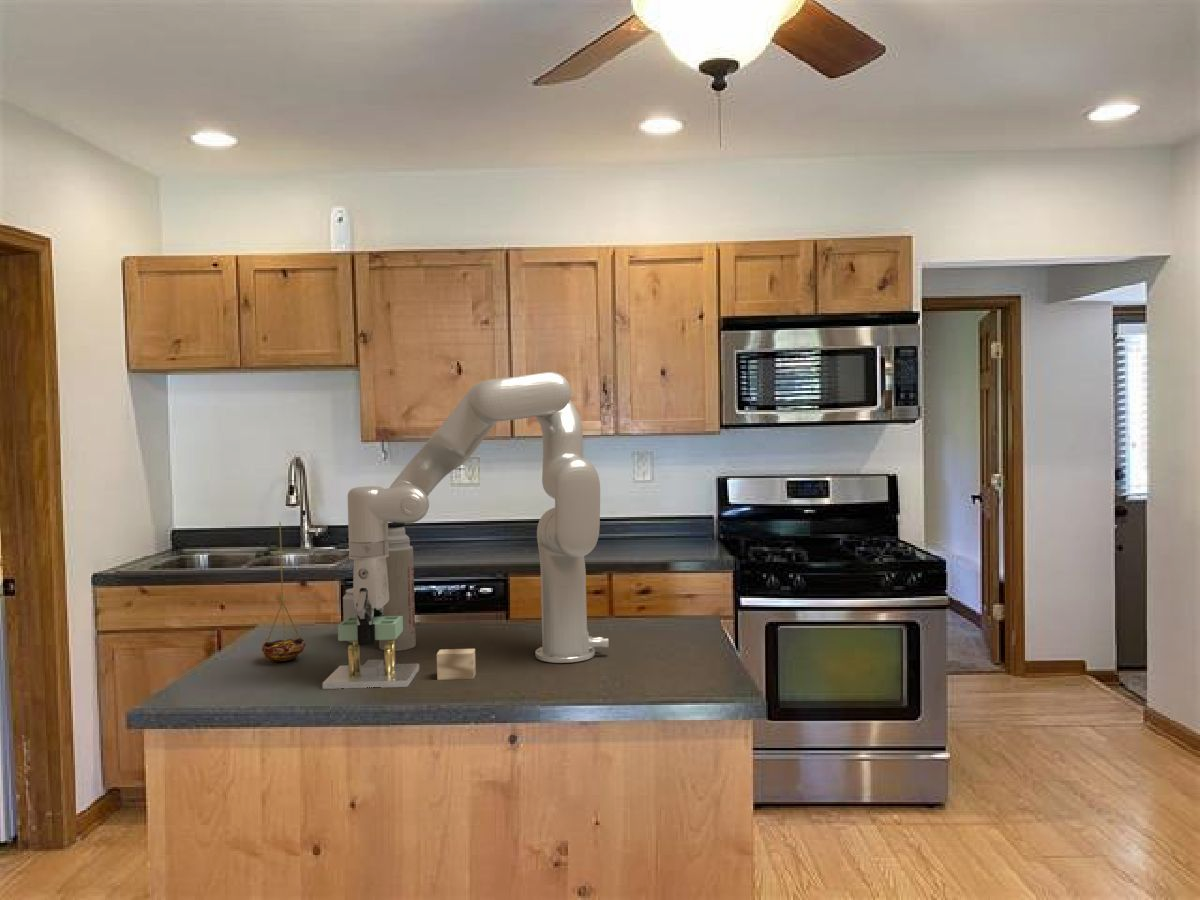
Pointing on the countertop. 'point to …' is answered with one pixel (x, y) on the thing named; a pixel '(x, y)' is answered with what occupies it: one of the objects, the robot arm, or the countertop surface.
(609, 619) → the countertop surface
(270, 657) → the bird feeder
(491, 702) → the countertop surface
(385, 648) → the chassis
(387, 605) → the thermos bottle
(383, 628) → the board
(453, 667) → the block
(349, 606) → the can
